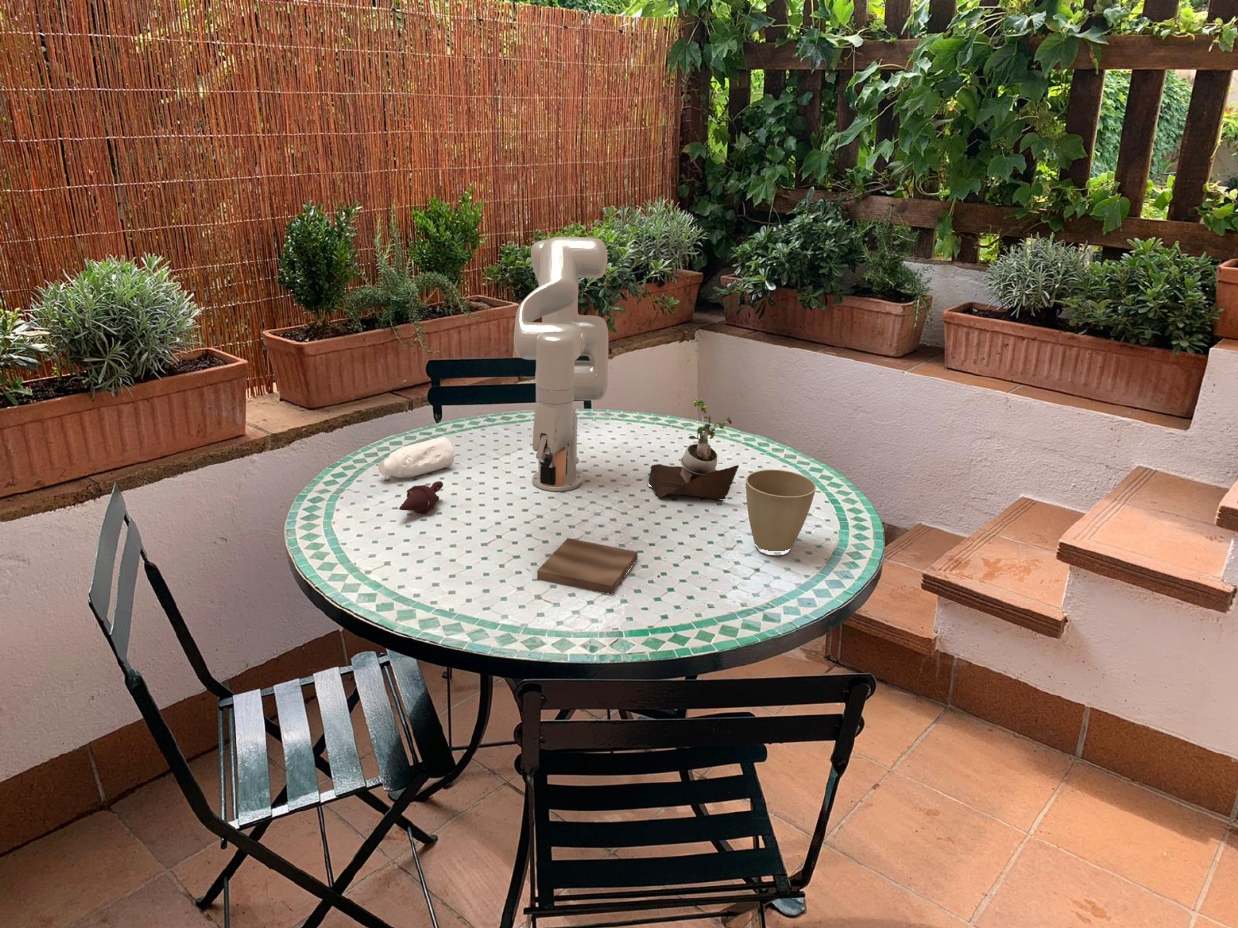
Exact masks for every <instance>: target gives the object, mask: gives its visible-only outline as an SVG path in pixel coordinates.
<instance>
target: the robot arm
mask: <svg viewBox="0 0 1238 928" xmlns="http://www.w3.org/2000/svg"><path fill="white" fill-rule="evenodd" d="M530 259H531V261H530V262H531V265H532V270H533V272H534V275H535V278H536V280H537V283H538V287H536V288H535V289H534V290H533V291H531V292H530V293H529V294H528V295H527V296H526V297H525V298H524V299H523V300H522V301H521V303H520V304H519V306H518V308H517V310H516V313H515V317H514V318H515V319H514V331H513V348H514V350H515V353H516V355H517V356H518V357H519V358H521V359H522V360H523V359H524V360H529V361H530V360H531V361H532V360H533V361H534V360H535V377H534V378H535V380H534V381H535V403H536V405H535V411H534V418H533V427H532V433H533V434H532V451H534V452H536V454H535V458H536V460H537V461H538V471H537V472H535V473H534V474H533V475H532V478H531V479H532V481H531V482H532V484H533V485H534V486H535V487H537V488H539V489H541V490H544V491H551V492H566V491H571V490H574V489H577V488H578V487H580V486H582V484H583V477H582V475H581V474H580V473H578V472H577V465H578V464H579V462H580V459H579V457H578V456H577V455H578V454H577V453H578V451H577V450H578V416H577V413H576V410H575V408H573V404H574V402H575V401H600V400H602V399H603V398H605V397H606V394H607V392H608V384H609V383H608V381H609V328H608V325H607V322H606V320H605V319H604V318H603V317H601V316H598V315H587V314H586V315H584V314H579V312H578V311H579V310H578V309H579V308H578V307H579V306H578V305H579V303H578V302H579V279H601V278H602V277H603V276H604V275H605V273H606V271H607V267H608V250H607V247H606V244H605V242H604V241H603V240H602V239H600V238H597V237H583V236H581V237H579V236H554V237H551V238H549V239H543V240H538V241H536V242H535V243H533V244H532V246H531V248H530ZM540 318H541V322H537V321H536V320H538V319H540ZM534 321H536V322H534ZM580 356H587V357H588V358H589V360H578V359H579V357H580ZM546 448H548V449H550V451H546ZM562 448H564V449H565V450H566V484H565V485H564V486H561V487H547V486H544V485H542V484H547V485H552V486H554V485H555V484H556V467H555V466H554V461H555V454H556V452H558V451H559V450H561V449H562ZM545 454H548V455H551V456H550V459H549V458H548V457H546V456H545Z"/></svg>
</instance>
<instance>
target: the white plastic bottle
mask: <svg viewBox="0 0 1238 928" xmlns="http://www.w3.org/2000/svg"><path fill="white" fill-rule="evenodd" d="M455 457H456V456H455V453H454V450H453V444H452V443H451V442H450V440H449V439H448V438H446V437H443V436H440V437H437V438H434V439H433V438H432V439H429V440H425V441H421V442H417V443H413V444H412V443H411V444H408V445H405V446H402V447H399V448H398V449H397V448H396V450H394V451H391V453H390V454H389V455H388V457H387V458H386V459H383V460H380V461H379V462H378V464H377V466H378V467H377V469H378V471H379V473H380V474H381V476H384V478H385V479H389V478H390V476H393V477H395V478H398V479H399V478H404V479H405V478H407V479H410V478H413V477H417V476H421V475H424V474H428V473H431V472H435V471H439V470H442V469H446V468H450V467H452V466H453V464H454V463H455Z"/></svg>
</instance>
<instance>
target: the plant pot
mask: <svg viewBox="0 0 1238 928" xmlns="http://www.w3.org/2000/svg"><path fill="white" fill-rule="evenodd" d="M816 490H817V485H816V483H815V482H814V481H813V480H812V479H810V478H809V477H807V476H805V475H803V474H800V473H796V472H793V471H789V470H782V469H761V470H757V471H754V472H751V473H749V474H748V475H746V477H745V493H746V494H745V495H746V505H747V506H746V507H747V513H748V520H749V525H750V531H751V535H752V539H753V543H754V545H755V544H756V545H757V546H758V547H759V548H761V549H764V550H768V551H785V550H788V549H790V548H791V547H792V548H793V546H794V544H795V542H796V541H797V539H798V537H799V535H800V534H801V531H802V528H803V526H804V524H805V523H806V520H807V517H808V514H809V511H810V509H811V506H812V503H813V500H814V496H815V493H816ZM792 548H791V549H792Z"/></svg>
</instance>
